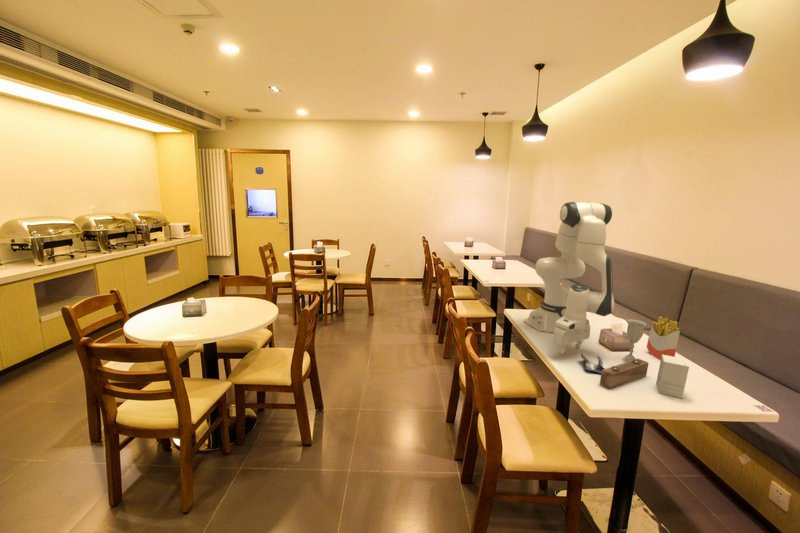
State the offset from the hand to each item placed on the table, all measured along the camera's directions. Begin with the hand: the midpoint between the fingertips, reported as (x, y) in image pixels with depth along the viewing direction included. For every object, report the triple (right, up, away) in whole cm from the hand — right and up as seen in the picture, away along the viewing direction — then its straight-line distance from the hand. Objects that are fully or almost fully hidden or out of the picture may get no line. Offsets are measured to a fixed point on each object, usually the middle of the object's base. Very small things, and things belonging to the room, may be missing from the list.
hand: (570, 350), depth 159 cm
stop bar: (+11, -7, -20) cm, 24 cm away
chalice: (+25, -4, -3) cm, 25 cm away
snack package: (+4, -5, -11) cm, 13 cm away
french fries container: (+41, -4, +2) cm, 42 cm away
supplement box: (+24, -9, -27) cm, 37 cm away
